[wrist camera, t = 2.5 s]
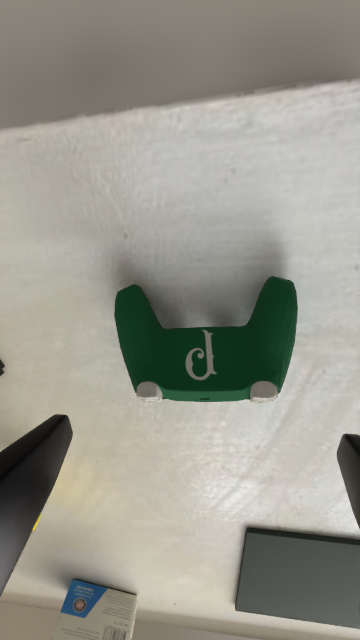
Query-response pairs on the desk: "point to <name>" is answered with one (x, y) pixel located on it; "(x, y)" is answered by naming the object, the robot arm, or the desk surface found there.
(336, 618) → the mat
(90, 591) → the ink box
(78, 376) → the desk surface
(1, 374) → the block figure
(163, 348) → the gaming controller
